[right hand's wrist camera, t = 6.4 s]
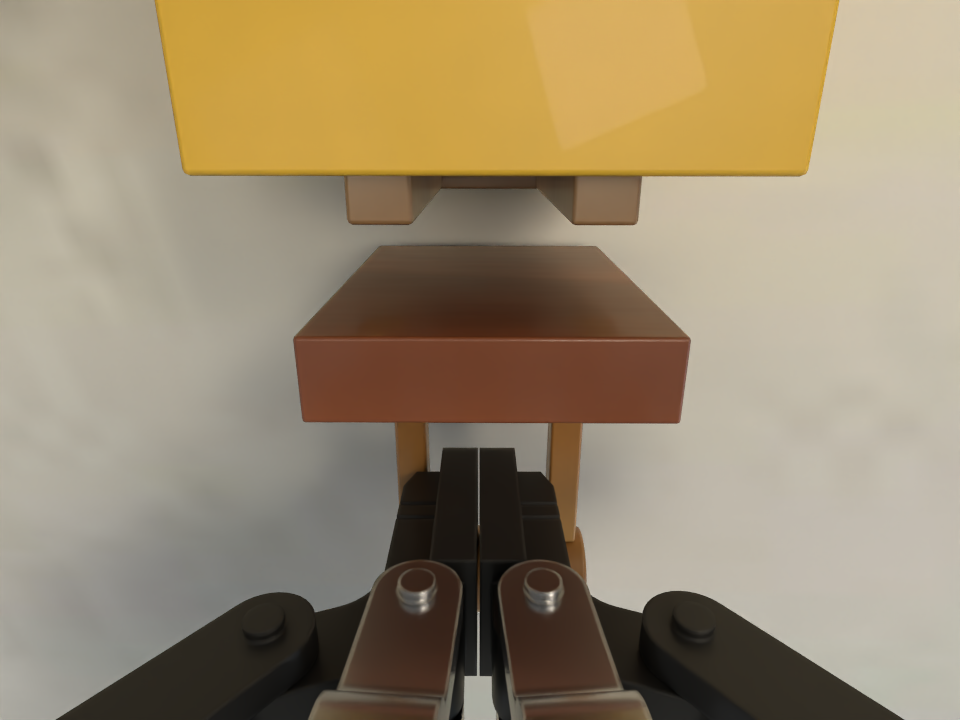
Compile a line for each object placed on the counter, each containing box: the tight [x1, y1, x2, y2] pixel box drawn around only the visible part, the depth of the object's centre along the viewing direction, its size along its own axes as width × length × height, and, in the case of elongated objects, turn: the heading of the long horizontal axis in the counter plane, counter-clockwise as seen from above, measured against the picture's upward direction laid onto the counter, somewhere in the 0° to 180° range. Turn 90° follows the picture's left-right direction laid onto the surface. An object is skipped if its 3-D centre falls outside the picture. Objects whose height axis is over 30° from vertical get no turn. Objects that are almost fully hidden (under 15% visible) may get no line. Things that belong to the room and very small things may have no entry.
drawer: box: [293, 176, 691, 612], centre depth 9 cm, size 23×5×7 cm, turn 0°
